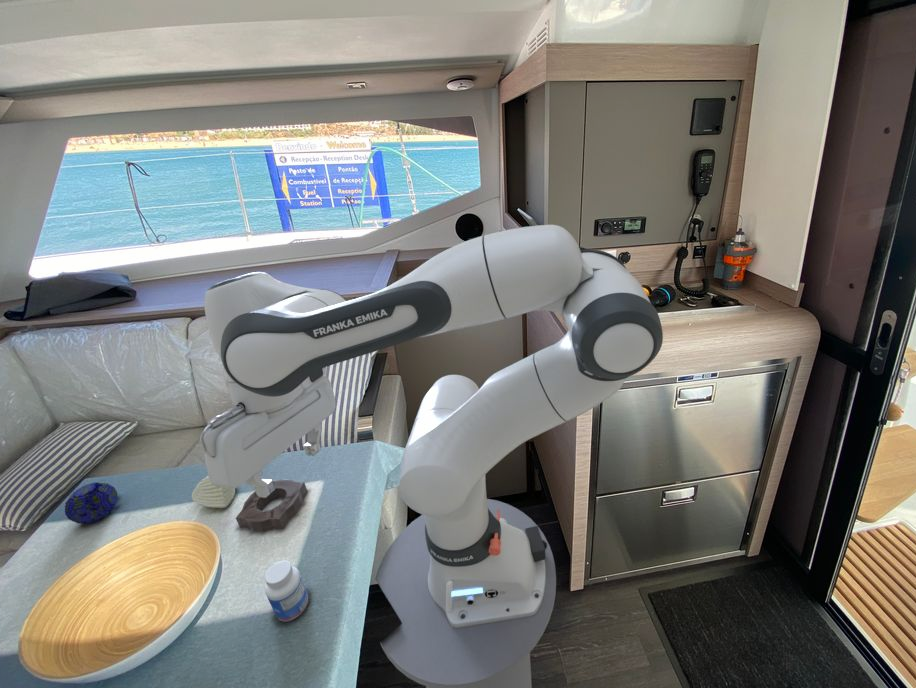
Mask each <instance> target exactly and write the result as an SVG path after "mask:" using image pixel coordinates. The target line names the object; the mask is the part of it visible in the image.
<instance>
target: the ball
mask: <svg viewBox="0 0 916 688" xmlns="http://www.w3.org/2000/svg"><path fill="white" fill-rule="evenodd" d="M118 496H119V495H118V491H117V489H116V488H115V486H114V485H112V484H109V483H105V482H91V483H88V484H84V485H82V486H81V487H79V488H78V489H76V490H75V491H73V492H72V493H71V495H70V496H69V497H68V498H67V500H66V501H65V505H64V514H65V516H66V518H67V519H68V520H69V521H71V522H74V523H76V524H91V523H94V522H98V521H100V520H101V519H103V518H105V517H106V516H107V515H108V514H110V513H111V512H112V511H113V509H114V508H115V506H116V505H117V503H118Z"/></svg>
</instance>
